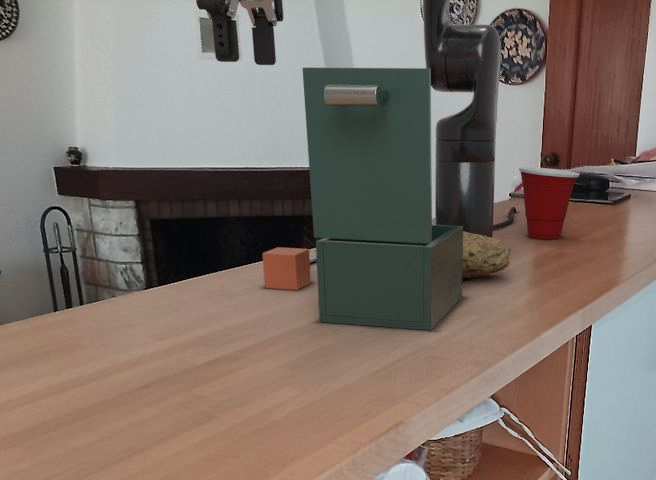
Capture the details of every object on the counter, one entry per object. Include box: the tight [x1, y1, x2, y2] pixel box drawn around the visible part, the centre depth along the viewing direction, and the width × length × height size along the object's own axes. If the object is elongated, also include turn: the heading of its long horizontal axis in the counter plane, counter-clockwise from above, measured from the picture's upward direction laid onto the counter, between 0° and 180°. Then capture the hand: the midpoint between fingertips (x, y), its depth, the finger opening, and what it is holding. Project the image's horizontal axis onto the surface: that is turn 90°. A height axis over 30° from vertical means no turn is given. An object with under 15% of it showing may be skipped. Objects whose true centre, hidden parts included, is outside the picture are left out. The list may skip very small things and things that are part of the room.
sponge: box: [462, 231, 511, 279], centre depth 107 cm, size 13×8×20 cm
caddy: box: [315, 223, 463, 331], centre depth 90 cm, size 16×13×9 cm
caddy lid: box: [302, 67, 433, 244], centre depth 75 cm, size 16×13×5 cm
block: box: [262, 246, 312, 291], centre depth 101 cm, size 4×4×4 cm
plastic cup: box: [518, 166, 581, 240], centre depth 140 cm, size 11×11×12 cm
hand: (247, 63), depth 81 cm, fingers open, 8 cm apart
